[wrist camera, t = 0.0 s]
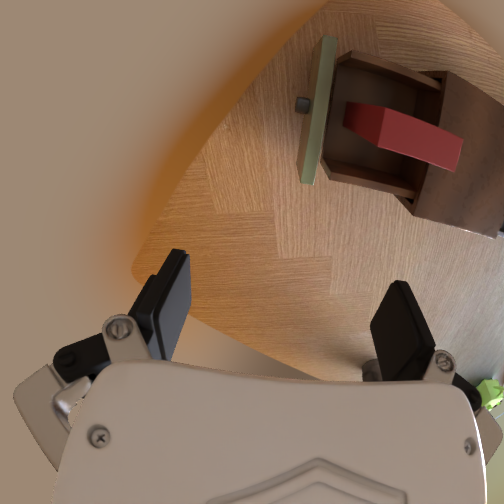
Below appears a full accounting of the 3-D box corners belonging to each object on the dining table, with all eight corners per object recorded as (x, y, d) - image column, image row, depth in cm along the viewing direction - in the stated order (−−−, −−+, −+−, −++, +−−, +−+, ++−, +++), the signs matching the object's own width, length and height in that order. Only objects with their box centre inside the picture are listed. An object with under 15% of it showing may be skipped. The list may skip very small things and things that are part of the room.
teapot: (493, 383, 57) (501, 406, 48) (464, 400, 62) (470, 424, 53) (500, 366, 51) (510, 392, 42) (467, 385, 56) (475, 413, 47)
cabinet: (384, 185, 29) (412, 216, 22) (408, 72, 21) (447, 70, 14) (462, 208, 29) (495, 239, 22) (488, 113, 21) (530, 127, 14)
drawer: (285, 162, 29) (286, 180, 23) (301, 45, 21) (308, 31, 16) (397, 185, 28) (421, 209, 23) (420, 80, 21) (452, 81, 15)
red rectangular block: (342, 126, 25) (377, 146, 16) (346, 101, 23) (385, 107, 14) (401, 142, 25) (455, 172, 15) (406, 119, 23) (464, 139, 14)
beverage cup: (349, 367, 49) (358, 457, 33) (379, 350, 46) (397, 444, 29) (366, 378, 52) (377, 460, 35) (394, 363, 48) (411, 447, 32)
